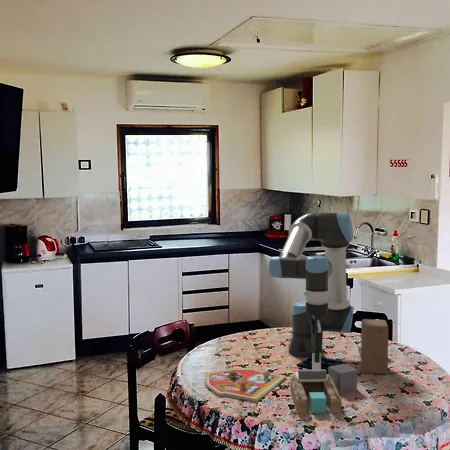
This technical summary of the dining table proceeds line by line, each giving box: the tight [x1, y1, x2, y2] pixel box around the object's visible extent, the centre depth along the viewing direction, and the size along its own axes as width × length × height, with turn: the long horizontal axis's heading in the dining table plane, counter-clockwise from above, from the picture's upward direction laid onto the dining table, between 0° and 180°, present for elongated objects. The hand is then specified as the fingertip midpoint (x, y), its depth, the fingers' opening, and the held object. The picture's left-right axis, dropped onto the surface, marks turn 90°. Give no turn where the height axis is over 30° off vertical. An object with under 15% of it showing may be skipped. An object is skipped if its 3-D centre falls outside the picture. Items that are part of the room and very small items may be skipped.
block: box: [309, 392, 327, 414], centre depth 188 cm, size 5×5×5 cm
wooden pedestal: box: [290, 374, 342, 415], centre depth 195 cm, size 19×15×6 cm
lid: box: [294, 368, 328, 382], centre depth 203 cm, size 7×11×4 cm, turn 89°
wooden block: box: [360, 318, 389, 375], centre depth 224 cm, size 10×10×20 cm
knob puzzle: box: [204, 367, 287, 404], centre depth 214 cm, size 29×30×4 cm
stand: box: [327, 363, 358, 394], centre depth 206 cm, size 8×8×8 cm
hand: (316, 370), depth 188 cm, fingers closed
